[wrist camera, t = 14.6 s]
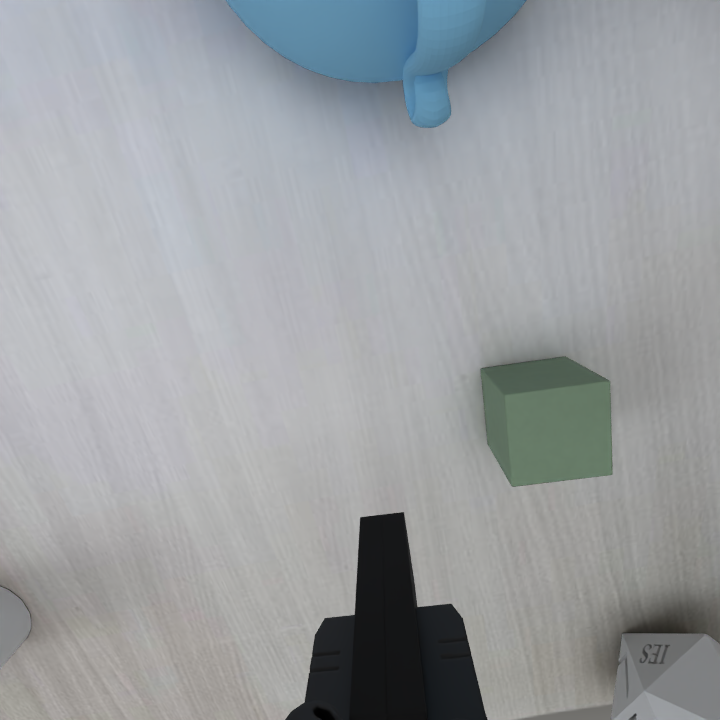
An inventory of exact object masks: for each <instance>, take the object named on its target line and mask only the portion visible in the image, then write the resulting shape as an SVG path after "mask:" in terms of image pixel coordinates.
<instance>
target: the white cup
mask: <svg viewBox="0 0 720 720" xmlns="http://www.w3.org/2000/svg"><path fill="white" fill-rule="evenodd" d="M31 626H32V625H31V618H30V613H29V611H28V610H27V608H26V606H25V605H24V603H23V601H22V600H21V599H20V598H18V597H17V596H16V595H15V594H13V593H12V592H11V591H10V590H8V589H5V588H3V587H0V669H1V668H2V667H3V665H4V664H5V663H6V662H7V661H8V659H9V658H10V657H11V656H12V655H13V654H14V652H15V651H16V650H17V649H18V648H19V646H20V645H21V644H22V643H23V642H24V641H25V639H26V638H27V637H28V635H29V632H30V629H31Z"/></svg>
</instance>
